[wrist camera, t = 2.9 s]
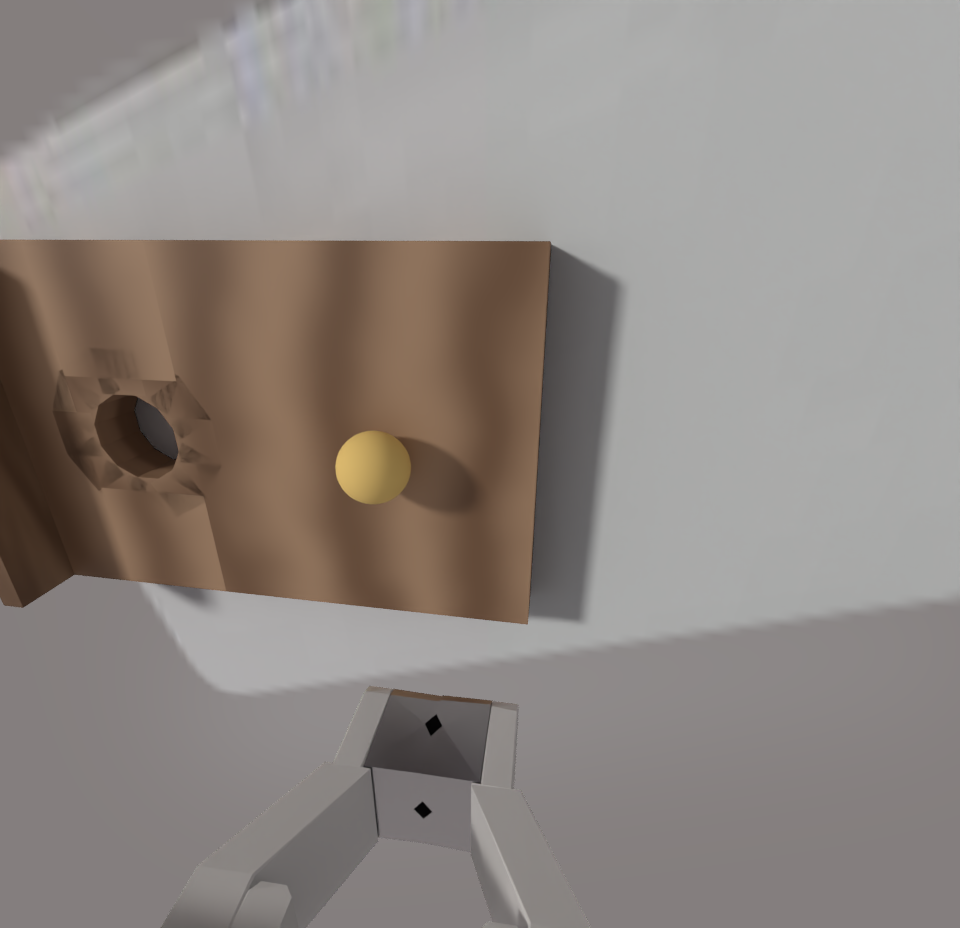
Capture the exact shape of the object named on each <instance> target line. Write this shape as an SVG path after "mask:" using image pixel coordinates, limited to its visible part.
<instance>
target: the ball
mask: <svg viewBox="0 0 960 928" xmlns="http://www.w3.org/2000/svg"><path fill="white" fill-rule="evenodd" d="M335 469H336V477H337V480H338V482H339V484H340V486H341V488H342V489H343V490H344V492H345V493H346V494H347V495H349V496H350V497H351V498H353V499H354V500H356V501H359V502H361V503H365V504H381V503H385V502H388V501H390V500H392V499H394V498H395V497H396V496H398V495H399V494H400V493H401V492H402V491H403V489H404V488H405V487H406V485H407V483H408V481H409V477H410V473H411V462H410V457H409V454H408V452H407V450H406V448H405V447H404V446H403V444H402V443H401V442H400V441H399V440H398V439H396V438H395V437H394V436H392V435H390V434H388V433H385V432H381V431H365V432H362V433H359V434H356V435H355V436H353V437H351V438H350V439H349V440H348V441H346V443H345V444H344V445H343V446H342V448H341V449H340V451H339V453H338V455H337V459H336V465H335Z"/></svg>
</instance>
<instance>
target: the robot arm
mask: <svg viewBox="0 0 960 928" xmlns="http://www.w3.org/2000/svg"><path fill="white" fill-rule="evenodd" d="M518 711H519V707H518V704H511V703H503V702H495V701H493V702H492V701H490V700H480V699H471V698H461V697H452V696H437V695H430V694H424V693H416V692H410V691H404V690H397V689H389V688H381V687H374V686H369V687H368V688H367V689H366V691H365V692H364V693H363V695H362V698H361V700H360V702H359V705H358V707H357V709H356V711H355V714H354V716H353V718H352V720H351V723H350V725H349V727H348V729H347V732H346V734H345V736H344V738H343V741H342V743H341V745H340V748H339V750H338V752H337V754H336V757H335V759H334V761H333V763H330V762H325V763H323V764H322V765H321V766H320V767H318V768H317V769H316V770H315V771H313V772H312V773H311V774H310V775H309V776H307V777H306V778H305V779H304V780H302V781H301V782H300V783H299V784H298V785H296V786H295V787H294V788H293V789H292V790H290V791H289V792H288V793H286V794H285V795H284V796H283V797H281V798H280V799H279V800H278V801H277V802H275V803H274V804H273V805H272V806H270V807H269V808H268V809H267V810H265V811H264V812H263V813H262V814H261V815H259V816H258V817H257V818H256V819H255V820H253V821H252V822H251V823H249V824H248V825H247V826H246V827H245V828H243V829H242V830H241V831H240V832H238V833H237V834H236V835H235V836H234V837H232V838H231V839H230V840H229V841H227V842H226V843H225V844H224V845H223V846H221V847H220V848H219V849H218V850H216V851H215V852H214V853H213V854H211V855H210V856H209V857H208V858H207V859H205V860H204V861H203V862H202V863H200V864H199V865H198V866H197V867H196V869H195V871H194V872H193V874H192V876H191V878H190V879H189V881H188V883H187V884H186V886H185V888H184V889H183V891H182V893H181V894H180V896H179V898H178V899H177V901H176V903H175V904H174V906H173V908H172V910H171V911H170V913H169V915H168V916H167V918H166V920H165V921H164V923H163V925H162V927H161V928H306V927H307V926H308V925H309V924H310V922H311V921H312V920H313V919H314V918H315V916H316V915H317V914H318V913H319V912H320V910H321V909H322V908H323V907H324V906H325V904H326V903H327V902H328V901H329V900H330V898H331V897H332V896H333V895H334V894H335V892H336V891H337V890H338V888H339V887H340V886H341V885H342V884H343V883H344V882H345V880H346V879H347V878H348V877H349V876H350V874H351V873H352V872H353V871H354V870H355V868H356V867H357V866H358V865H359V864H360V862H361V861H362V860H363V859H364V858H365V856H366V855H367V854H368V853H369V852H370V850H371V849H372V848H373V847H374V846H375V844H376V843H377V842H378V837H379V838H386V839H394V840H403V841H410V842H418V843H425V844H431V845H436V846H441V847H446V848H451V849H456V850H462V851H467V852H471V857H472V860H473V863H474V866H475V869H476V872H477V875H478V879H479V881H480V884H481V888H482V891H483V894H484V897H485V900H486V903H487V906H488V909H489V912H490V915H491V918H492V922H489V921H488V922H487V923H486V924H485V925H484V926H483V927H482V928H591V927H590V925H589V923H588V921H587V919H586V917H585V915H584V913H583V911H582V909H581V907H580V905H579V903H578V901H577V899H576V897H575V895H574V893H573V892H572V889H571V887H570V885H569V883H568V881H567V879H566V878H565V875H564V873H563V872H562V870H561V868H560V866H559V864H558V862H557V860H556V858H555V856H554V854H553V852H552V850H551V848H550V846H549V844H548V842H547V840H546V838H545V836H544V834H543V832H542V830H541V828H540V827H539V824H538V822H537V820H536V819H535V816H534V814H533V812H532V810H531V809H530V807H529V805H528V803H527V801H526V799H525V797H524V795H523V793H522V791H521V790H518V789H514V780H515V763H516V746H517V729H518Z"/></svg>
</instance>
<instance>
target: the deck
mask: <svg viewBox="0 0 960 928" xmlns="http://www.w3.org/2000/svg"><path fill="white" fill-rule="evenodd" d="M550 256H551V242H550V241H232V240H0V598H1V600H2V602H3V604H4V605H6V606H14V607H22V608H23V607H25V606H26V605H28V604H29V603H31V602H33V601H34V600H36V599H37V598H39V597H40V596H42V595H43V594H45V593H47V592H48V591H50V590H51V589H53V588H54V587H56V586H57V585H59V584H61V583H62V582H63V581H65V580H67V579H68V578H70V577H71V576H73V575H83V576H93V577H102V578H111V579H120V580H129V581H138V582H147V583H156V584H165V585H174V586H183V587H193V588H202V589H211V590H220V591H229V592H238V593H247V594H256V595H265V596H274V597H283V598H293V599H302V600H311V601H320V602H329V603H338V604H347V605H356V606H365V607H374V608H383V609H393V610H402V611H411V612H420V613H429V614H438V615H447V616H456V617H465V618H474V619H483V620H493V621H502V622H511V623H520V624H528V614H529V603H530V590H531V573H532V556H533V540H534V523H535V506H536V490H537V473H538V456H539V439H540V423H541V406H542V389H543V373H544V356H545V339H546V322H547V306H548V289H549V272H550ZM137 398H140V399H142V400H143V401H145V402H147V403H149V404H150V405H152V406H154V407H155V408H157V409H158V410H159V412H160V413H161V414H162V415H163V417H164V418H165V419H166V421H167V422H168V423H169V425H170V426H171V427H172V428H173V431H174V435H175V439H176V443H177V447H178V451H179V452H178V456H177V459H176V460H175V459H171V458H170V457H168V456H166V455H164V454H163V453H161V452H159V451H157V450H156V449H154V448H153V447H152V445H151V444H150V443H149V442H148V440H147V439H146V438H145V437H144V435H143V434H142V433H141V432H140V429H139V426H138V422H137V419H136V415H135V411H134V409H135V406H136V402H137ZM365 431H381V432H385V433H388V434H390V435H392V436H394V437H395V438H396V439H398V440H399V441H400V442H401V443H402V444H403V446H404V447H405V448H406V450H407V452H408V454H409V457H410V462H411V473H410V477H409V481H408V483H407V485H406V487H405V488H404V489H403V491H402V492H401V493H400V494H399V495H398V496H396V497H395V498H394V499H392V500H390V501H388V502H385V503H381V504H365V503H361V502H359V501H356V500H354V499H353V498H351V497H350V496H349V495H347V494H346V493H345V492H344V490H343V489H342V488H341V486H340V484H339V482H338V480H337V477H336V469H335V465H336V459H337V455H338V453H339V451H340V449H341V448H342V446H343V445H344V444H345V443H346V441H348V440H349V439H350V438H351V437H353V436H355V435H356V434H359V433H362V432H365Z"/></svg>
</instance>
